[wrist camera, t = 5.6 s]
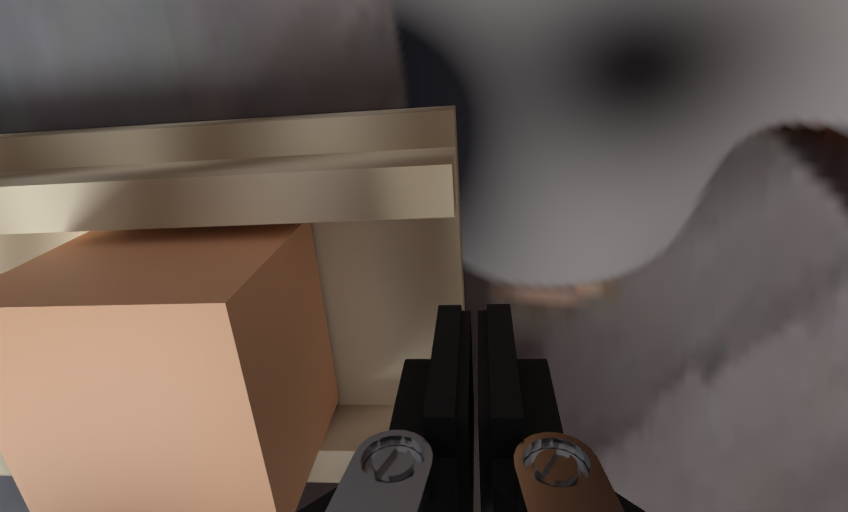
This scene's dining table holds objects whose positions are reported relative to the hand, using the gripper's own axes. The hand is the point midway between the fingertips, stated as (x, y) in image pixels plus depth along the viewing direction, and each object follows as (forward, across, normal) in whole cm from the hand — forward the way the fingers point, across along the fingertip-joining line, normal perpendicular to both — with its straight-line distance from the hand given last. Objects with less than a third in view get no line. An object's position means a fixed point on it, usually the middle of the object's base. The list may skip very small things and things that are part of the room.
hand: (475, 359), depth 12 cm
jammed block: (+3, +7, 0) cm, 8 cm away
